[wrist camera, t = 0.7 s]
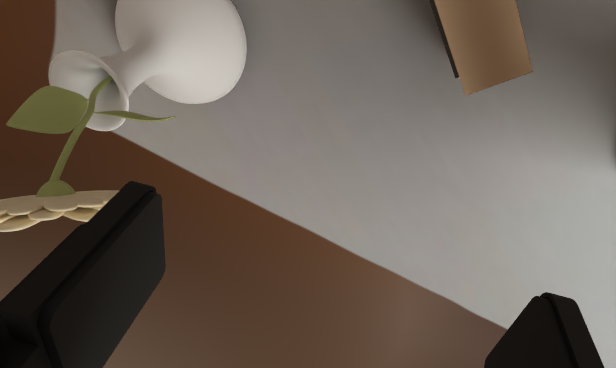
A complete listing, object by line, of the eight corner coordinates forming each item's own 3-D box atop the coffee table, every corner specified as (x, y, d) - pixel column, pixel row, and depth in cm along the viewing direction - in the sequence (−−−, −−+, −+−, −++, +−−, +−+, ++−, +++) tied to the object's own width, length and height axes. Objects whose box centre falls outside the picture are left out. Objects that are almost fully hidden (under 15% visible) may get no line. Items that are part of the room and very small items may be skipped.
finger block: (480, -71, 27) (499, -66, 21) (509, 41, 30) (532, 71, 25) (418, -39, 29) (420, -26, 23) (452, 63, 32) (461, 97, 26)
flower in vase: (132, 78, 39) (-170, 265, 19) (123, -57, 32) (-364, 4, 12) (262, 115, 38) (96, 350, 18) (281, -16, 31) (50, 124, 11)
